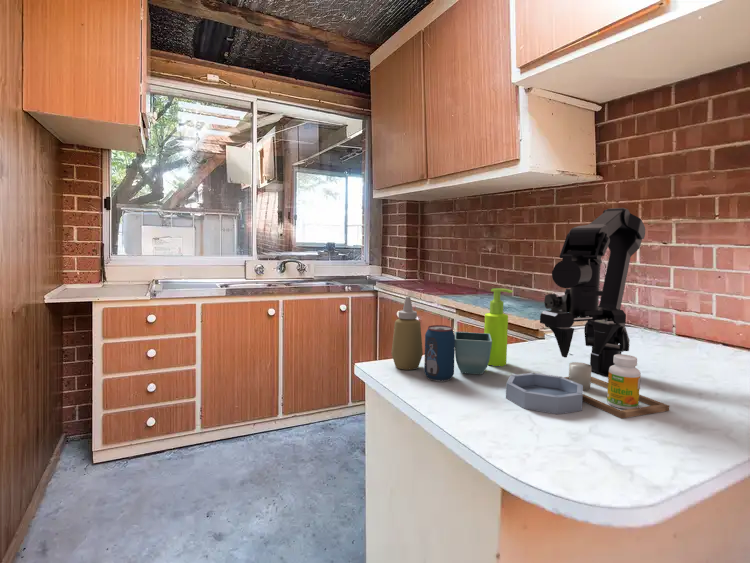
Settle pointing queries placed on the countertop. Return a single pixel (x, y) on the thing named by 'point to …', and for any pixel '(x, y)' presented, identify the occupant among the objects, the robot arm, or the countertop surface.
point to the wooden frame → (653, 408)
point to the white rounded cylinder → (580, 374)
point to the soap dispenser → (497, 329)
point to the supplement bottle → (623, 382)
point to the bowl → (545, 393)
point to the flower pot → (472, 351)
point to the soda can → (439, 353)
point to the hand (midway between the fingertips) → (581, 355)
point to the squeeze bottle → (407, 339)
